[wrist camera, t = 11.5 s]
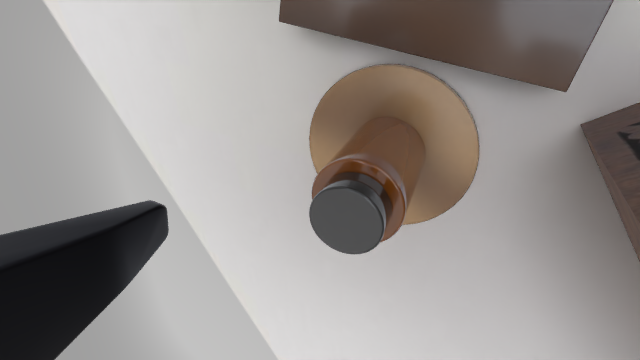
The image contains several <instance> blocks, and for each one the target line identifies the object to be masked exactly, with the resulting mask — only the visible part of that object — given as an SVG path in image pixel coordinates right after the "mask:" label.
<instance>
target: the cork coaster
mask: <svg viewBox="0 0 640 360" xmlns="http://www.w3.org/2000/svg"><path fill="white" fill-rule="evenodd" d="M378 117H393V118H397V119H400V120H403V121H404V122H406V123H408V124H409V125H411V126H412V127H413V128H414V129H415V130H416V131H417V132H418V133H419V135H420V136H421V138H422V140H423V142H424V145H425V149H426V161H425V165H424V168H423V170H422V173H421V176H420V178H419V181H418V184H417V186H416V189H415V192H414V194H413V197H412V200H411V203H410V205H409V208H408V211H407V213H406V216H405V219H404V221H403V223H402V225H405V224H414V223H419V222H423V221H427V220H430V219H432V218H434V217H437V216H439V215H440V214H442V213H444V212H446V211H447V210H448V209H450V208H451V207H452V206H454V205H455V204H456V203H457V202H458V201H459V200H460V199H461V198H462V197H463V195H464V194H465V192H466V191H467V190H468V188H469V186H470V184H471V182H472V181H473V178H474V175H475V172H476V170H477V164H478V159H479V140H478V133H477V129H476V125H475V122H474V120H473V117H472V115H471V113H470V111H469V109H468V108H467V106H466V105H465V103H464V101H463V100H462V99H461V98H460V97H459V95H458V94H457V93H456V92H455V91H454V90H453V89H452V88H451V87H450V86H448V85H447V84H446V83H445V82H443V81H442V80H440V79H439V78H437V77H436V76H434V75H432V74H430V73H428V72H426V71H424V70H421V69H418V68H414V67H411V66H406V65H400V64H381V65H374V66H369V67H365V68H362V69H360V70H357V71H354V72H353V73H351V74H349V75H347V76H345V77H344V78H342V79H341V80H340V81H338V82H337V83H336V84H334V85H333V86H332V87H331V88H330V89H329V90H328V91H327V92H326V94H325V95H324V96H323V98H322V99H321V101H320V102H319V104H318V106H317V108H316V110H315V113H314V115H313V118H312V122H311V127H310V136H309V140H310V151H311V157H312V160H313V164H314V167H315V169H316V171H317V174H318V173H319V172H320V171H321V170H322V168H323V167H324V166H325V165H326V164H327V163H328V162H329V161H330V160H331V159H332V157H333V156H334V155H335V154H336V153H337V152H338V151H339V150H340V149H341V147H342V146H343V145H344V144H345V143H346V142H347V141H348V140H349V139H350V138H351V136H352V135H353V134H354V133H355V132H356V131H357V130H358V129H359V128H360V127H361V126H362V125H363V124H364V123H366V122H367V121H369V120H371V119H374V118H378Z"/></svg>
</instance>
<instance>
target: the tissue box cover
mask: <svg viewBox="0 0 640 360" xmlns="http://www.w3.org/2000/svg"><path fill="white" fill-rule="evenodd" d="M581 127H582V129H583V131H584V134H585V136H586V138H587V141H588V143H589V145H590V148H591V150H592V152H593V155H594V157H595V159H596V162H597V164H598V166H599V169H600V171H601V173H602V175H603V178H604V180H605V182H606V185H607V187H608V189H609V192H610V194H611V196H612V199H613V201H614V203H615V206H616V208H617V210H618V213H619V215H620V217H621V220H622V222H623V224H624V226H625V229H626V231H627V233H628V236H629V238H630V240H631V243H632V245H633V247H634V250H635V252H636V254H637V257H638V259H639V261H640V103H638V104H635V105H632V106H630V107H627V108H624V109H622V110H619V111H616V112H613V113H611V114H608V115H605V116H603V117H600V118H597V119H595V120H592V121H589V122H586V123H584V124H581Z"/></svg>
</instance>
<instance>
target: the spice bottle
mask: <svg viewBox="0 0 640 360" xmlns="http://www.w3.org/2000/svg"><path fill="white" fill-rule="evenodd" d="M425 161H426V149H425V145H424V142H423V140H422V138H421V136H420V135H419V133H418V132H417V131H416V130H415V129H414V128H413V127H412V126H411V125H409V124H408V123H406V122H404V121H403V120H400V119H397V118H393V117H378V118H374V119H371V120H369V121H367V122H366V123H364V124H363V125H362V126H361V127H360V128H359V129H358V130H357V131H356V132H355V133H354V134H353V135H352V136H351V138H350V139H349V140H348V141H347V142H346V143H345V144H344V145H343V146H342V147H341V149H340V150H339V151H338V152H337V153H336V154H335V155H334V156H333V157H332V159H331V160H330V161H329V162H328V163H327V164H326V165H325V166H324V167H323V168H322V170H321V171H320V172H319V173H318V175H317V176H316V178H315V180H314V183H313V187H312V202H311V205H310V211H309V214H310V222H311V225H312V227H313V229H314V231H315V233H316V234H317V235H318V237H319V238H320V239H321V240H322V241H323V242H324V243H325V244H327V245H328V246H329V247H331V248H333V249H335V250H337V251H339V252H342V253H346V254H362V253H366V252H368V251H370V250H372V249H374V248H375V247H376V246H377V245H378V244H379V243H380V242H382V241H385V240H387V239H389V238H390V237H392V236H393V235H394V234H395V233H396V232H397V231H398V230H399V229H400V227H401V226H402V223H403V221H404V219H405V216H406V213H407V211H408V208H409V205H410V203H411V200H412V197H413V194H414V192H415V189H416V186H417V184H418V181H419V178H420V176H421V173H422V170H423V168H424V165H425Z"/></svg>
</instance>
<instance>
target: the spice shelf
mask: <svg viewBox="0 0 640 360" xmlns="http://www.w3.org/2000/svg"><path fill="white" fill-rule="evenodd" d="M612 2H613V0H281V3H280V14H279V21H280V22H283V23H287V24H291V25H295V26H299V27H303V28H307V29H311V30H315V31H319V32H324V33H328V34H332V35H336V36H340V37H344V38H348V39H352V40H356V41H360V42H364V43H368V44H372V45H376V46H380V47H384V48H388V49H393V50H397V51H401V52H405V53H409V54H413V55H417V56H421V57H425V58H429V59H433V60H437V61H441V62H445V63H449V64H453V65H458V66H462V67H466V68H470V69H474V70H478V71H482V72H486V73H490V74H494V75H498V76H502V77H506V78H510V79H514V80H518V81H522V82H527V83H531V84H535V85H539V86H543V87H547V88H551V89H555V90H559V91H563V92H566V91H567V90H568V88H569V86H570V84H571V82H572V80H573V78H574V76H575V74H576V72H577V70H578V68H579V66H580V64H581V63H582V61H583V59H584V57H585V55H586V53H587V51H588V49H589V47H590V45H591V43H592V41H593V39H594V37H595V35H596V33H597V31H598V30H599V28H600V26H601V24H602V22H603V20H604V18H605V16H606V14H607V12H608V10H609V8H610V6H611V4H612Z"/></svg>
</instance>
